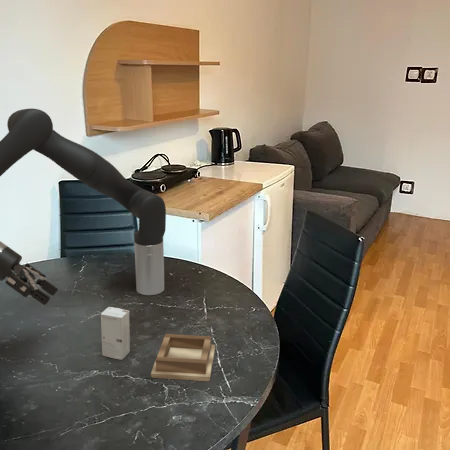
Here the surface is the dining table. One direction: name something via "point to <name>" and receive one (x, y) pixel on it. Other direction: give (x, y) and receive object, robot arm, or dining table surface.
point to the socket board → (184, 358)
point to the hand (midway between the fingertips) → (52, 296)
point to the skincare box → (115, 333)
